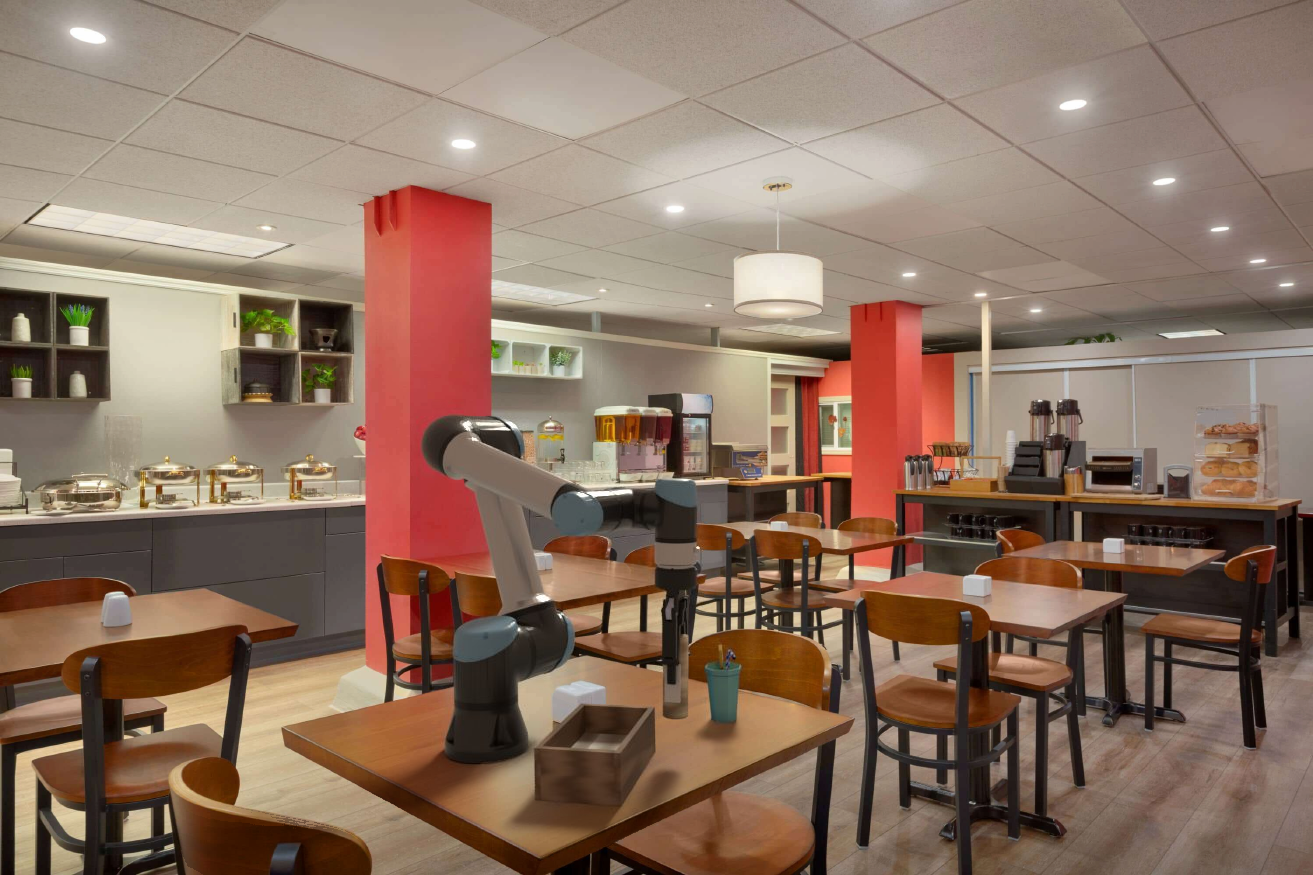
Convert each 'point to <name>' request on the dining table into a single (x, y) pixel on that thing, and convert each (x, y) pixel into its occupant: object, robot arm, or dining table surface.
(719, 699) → the cup
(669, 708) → the peg
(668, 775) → the dining table surface
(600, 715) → the crate
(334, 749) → the dining table surface
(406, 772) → the dining table surface
